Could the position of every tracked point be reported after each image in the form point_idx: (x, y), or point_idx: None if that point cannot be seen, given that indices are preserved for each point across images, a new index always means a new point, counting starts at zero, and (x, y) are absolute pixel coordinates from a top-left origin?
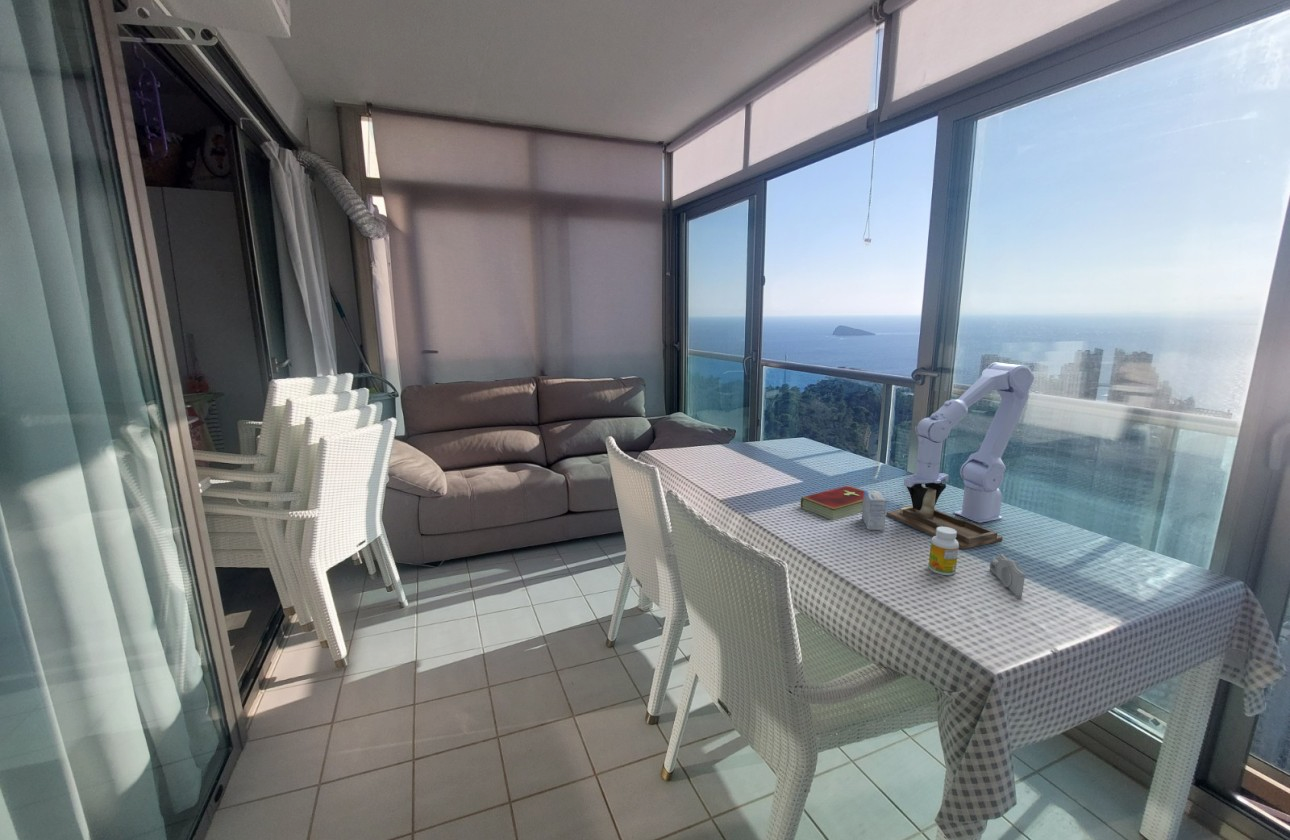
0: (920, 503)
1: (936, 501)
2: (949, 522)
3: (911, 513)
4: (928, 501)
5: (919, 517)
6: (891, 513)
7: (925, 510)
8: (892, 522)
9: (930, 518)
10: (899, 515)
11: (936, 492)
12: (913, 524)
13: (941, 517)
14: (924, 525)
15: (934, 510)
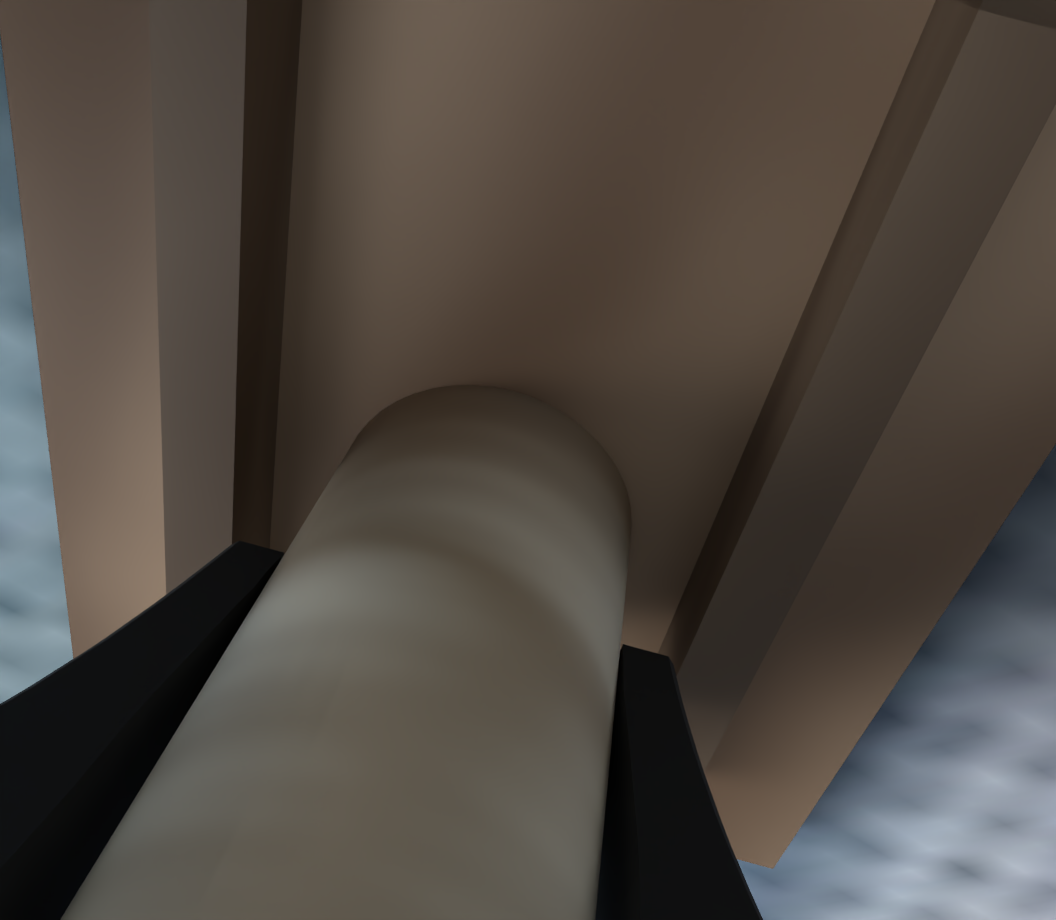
0: (705, 788)
1: (143, 621)
2: (330, 80)
3: (752, 677)
4: (538, 736)
5: (822, 525)
6: (784, 822)
7: (595, 579)
8: (1012, 704)
9: (523, 405)
10: (775, 742)
11: (31, 872)
12: (1016, 480)
13: (276, 303)
14: (970, 324)
15: (233, 497)
